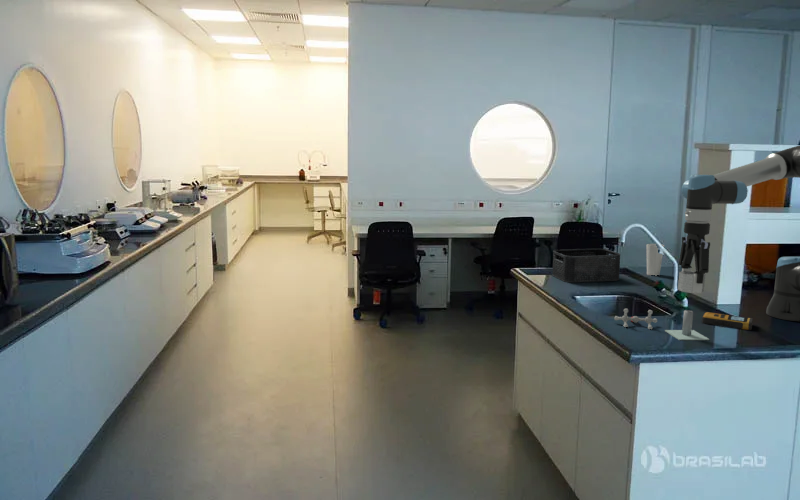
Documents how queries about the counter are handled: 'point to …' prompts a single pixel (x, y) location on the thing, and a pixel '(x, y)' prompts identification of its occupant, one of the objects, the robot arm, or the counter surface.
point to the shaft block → (687, 329)
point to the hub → (687, 281)
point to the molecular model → (636, 319)
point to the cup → (653, 260)
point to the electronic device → (727, 320)
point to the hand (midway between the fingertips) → (690, 289)
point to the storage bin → (586, 265)
